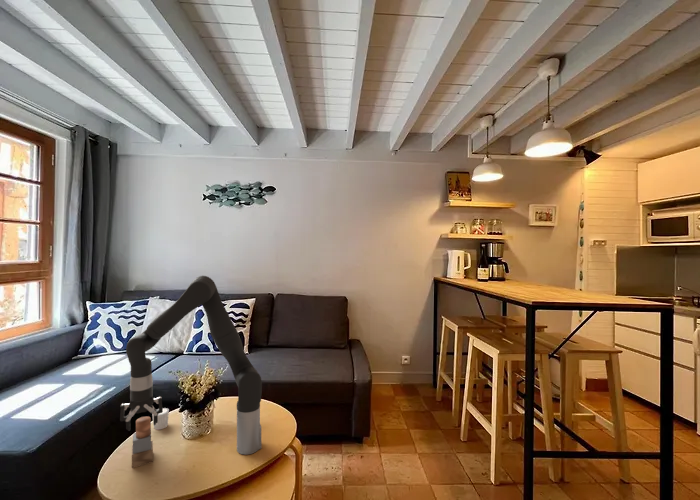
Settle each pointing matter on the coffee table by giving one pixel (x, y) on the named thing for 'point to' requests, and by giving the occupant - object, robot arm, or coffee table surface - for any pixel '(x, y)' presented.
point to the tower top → (141, 444)
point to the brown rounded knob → (143, 427)
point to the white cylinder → (161, 419)
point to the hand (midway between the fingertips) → (142, 426)
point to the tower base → (142, 457)
